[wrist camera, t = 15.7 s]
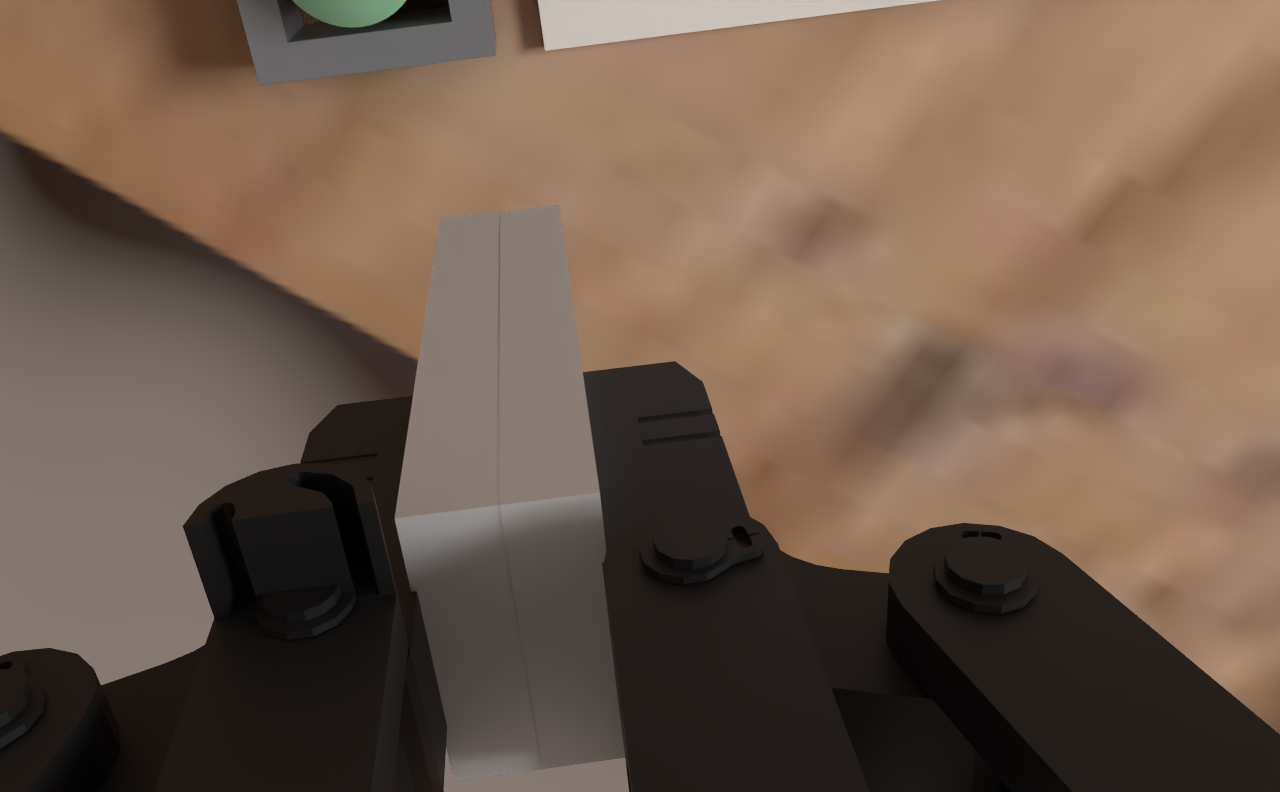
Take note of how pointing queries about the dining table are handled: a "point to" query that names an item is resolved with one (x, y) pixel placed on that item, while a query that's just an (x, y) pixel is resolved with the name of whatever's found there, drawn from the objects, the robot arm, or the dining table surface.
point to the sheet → (674, 16)
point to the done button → (350, 11)
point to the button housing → (362, 40)
